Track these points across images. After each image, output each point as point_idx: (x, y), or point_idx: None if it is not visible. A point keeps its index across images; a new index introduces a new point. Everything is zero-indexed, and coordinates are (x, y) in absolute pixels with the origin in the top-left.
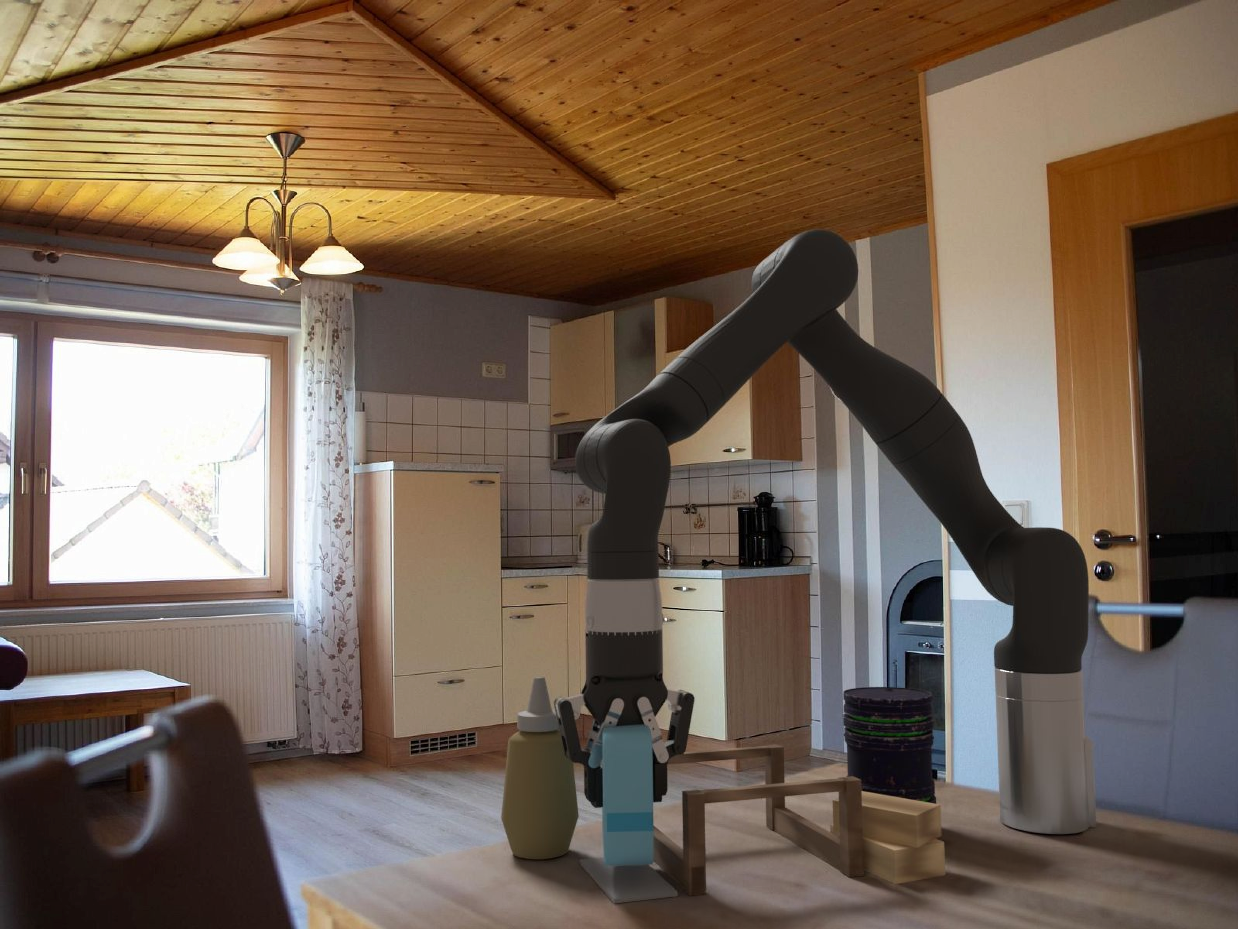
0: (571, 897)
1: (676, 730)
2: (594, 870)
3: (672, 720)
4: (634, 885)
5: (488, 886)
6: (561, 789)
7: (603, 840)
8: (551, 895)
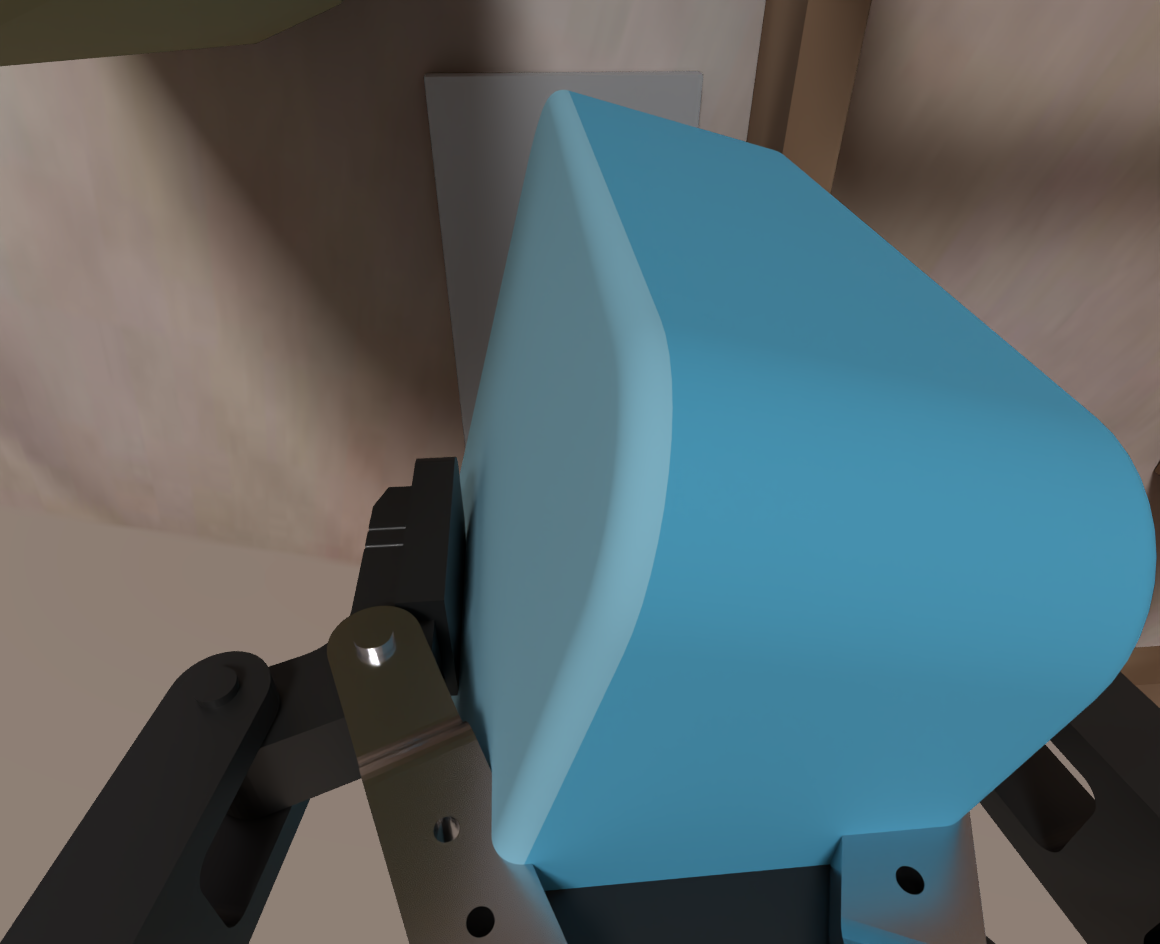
0: (353, 427)
1: (1026, 847)
2: (462, 248)
3: (1132, 843)
4: None
5: (22, 250)
6: (241, 17)
7: (463, 482)
8: (287, 397)
